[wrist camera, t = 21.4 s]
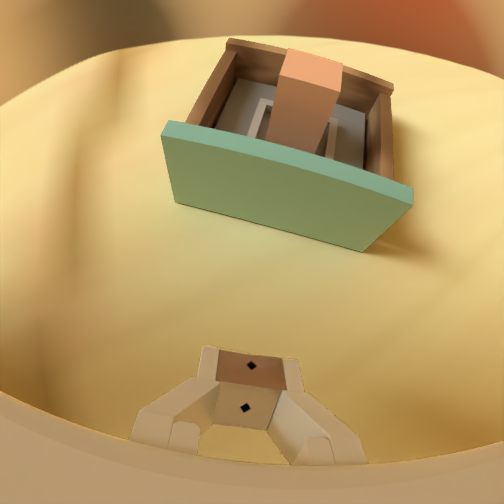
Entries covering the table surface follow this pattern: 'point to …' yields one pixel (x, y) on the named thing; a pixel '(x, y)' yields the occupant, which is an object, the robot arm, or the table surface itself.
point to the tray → (283, 173)
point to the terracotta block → (304, 100)
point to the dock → (267, 72)
